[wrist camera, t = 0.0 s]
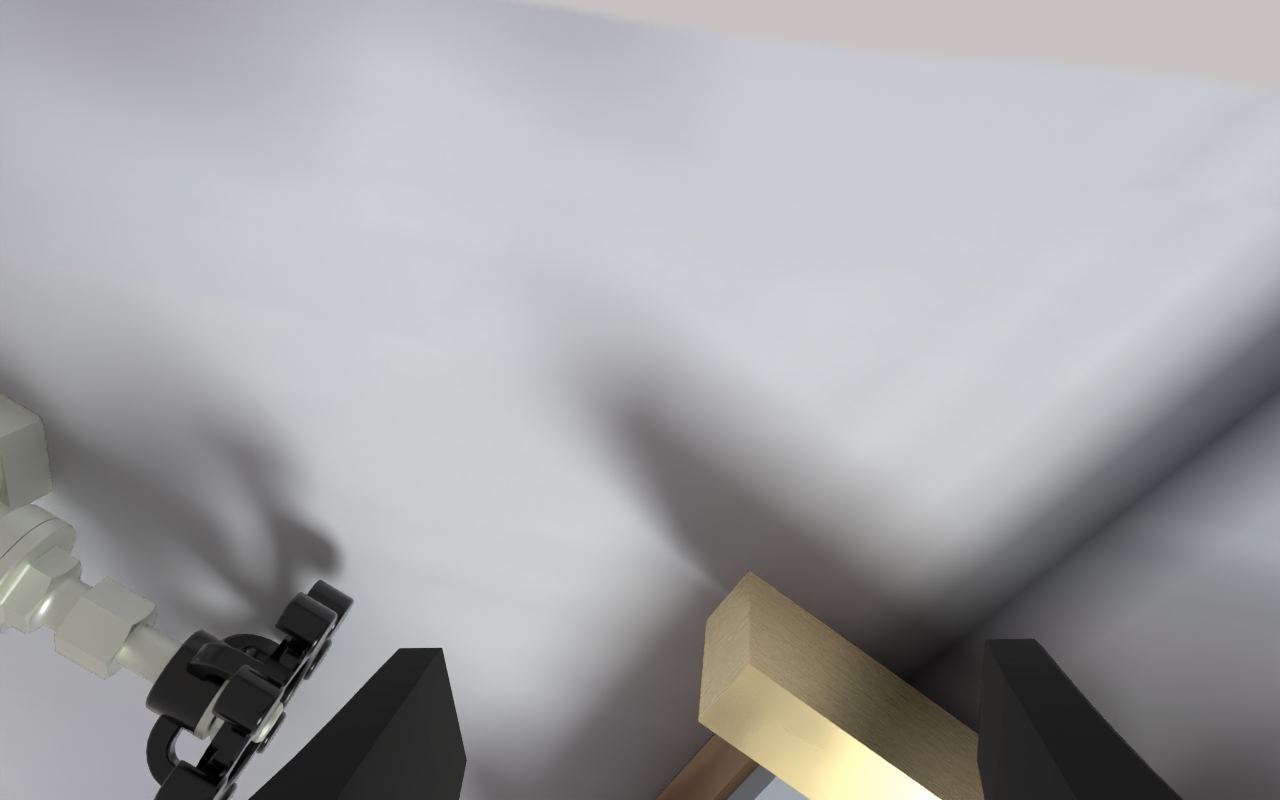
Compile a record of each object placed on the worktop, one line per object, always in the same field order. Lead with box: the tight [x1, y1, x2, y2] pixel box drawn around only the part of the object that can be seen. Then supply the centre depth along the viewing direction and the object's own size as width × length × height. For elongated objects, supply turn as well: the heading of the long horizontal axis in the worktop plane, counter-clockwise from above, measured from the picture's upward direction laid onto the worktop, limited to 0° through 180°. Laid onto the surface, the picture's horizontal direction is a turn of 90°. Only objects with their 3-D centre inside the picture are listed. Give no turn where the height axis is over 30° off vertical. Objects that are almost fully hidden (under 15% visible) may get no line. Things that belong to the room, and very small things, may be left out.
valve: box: [0, 394, 354, 800], centre depth 23 cm, size 7×7×12 cm
